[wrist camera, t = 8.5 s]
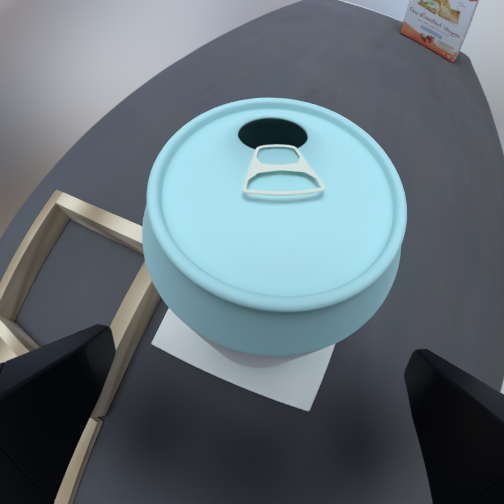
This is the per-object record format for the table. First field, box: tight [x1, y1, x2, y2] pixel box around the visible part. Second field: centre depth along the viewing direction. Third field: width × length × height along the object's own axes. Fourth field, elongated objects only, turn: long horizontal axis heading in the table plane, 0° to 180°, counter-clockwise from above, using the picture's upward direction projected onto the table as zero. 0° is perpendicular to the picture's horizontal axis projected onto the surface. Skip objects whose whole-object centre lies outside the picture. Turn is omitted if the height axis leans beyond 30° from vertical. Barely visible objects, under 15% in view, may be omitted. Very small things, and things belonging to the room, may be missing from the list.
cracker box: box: [400, 0, 479, 63], centre depth 32 cm, size 14×6×21 cm, turn 47°
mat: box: [151, 308, 335, 411], centre depth 17 cm, size 10×10×1 cm
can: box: [142, 98, 407, 368], centre depth 11 cm, size 7×7×12 cm
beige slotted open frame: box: [0, 190, 161, 504], centre depth 14 cm, size 12×24×2 cm, turn 157°
